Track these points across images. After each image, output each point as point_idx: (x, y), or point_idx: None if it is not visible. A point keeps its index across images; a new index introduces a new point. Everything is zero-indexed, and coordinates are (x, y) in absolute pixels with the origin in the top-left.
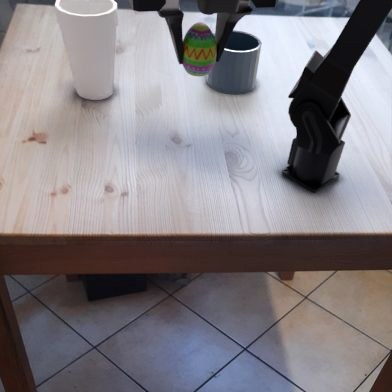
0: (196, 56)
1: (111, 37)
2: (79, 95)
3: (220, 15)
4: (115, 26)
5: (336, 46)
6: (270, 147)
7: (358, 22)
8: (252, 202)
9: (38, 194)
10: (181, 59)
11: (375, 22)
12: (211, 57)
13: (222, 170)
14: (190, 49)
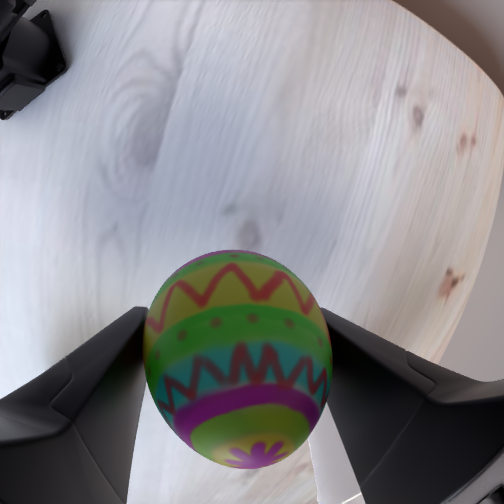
0: (286, 282)
1: (343, 460)
2: None
3: (108, 492)
4: (337, 478)
5: None
6: (50, 171)
7: None
8: None
9: (484, 149)
10: (326, 313)
11: None
12: (190, 278)
13: (186, 96)
14: (319, 319)
